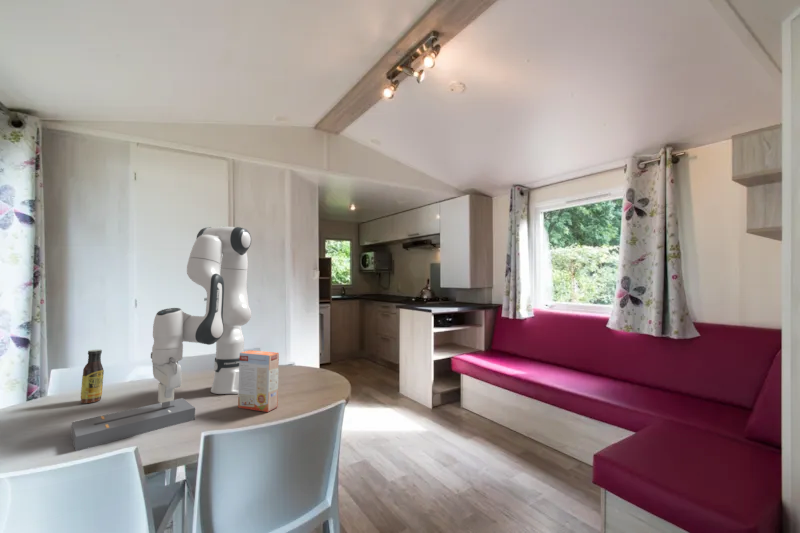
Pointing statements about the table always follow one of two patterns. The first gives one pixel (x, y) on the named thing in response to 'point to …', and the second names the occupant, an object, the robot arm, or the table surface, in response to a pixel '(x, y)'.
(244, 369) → the cracker box
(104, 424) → the console
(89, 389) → the sauce bottle
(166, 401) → the fader knob
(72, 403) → the table surface
